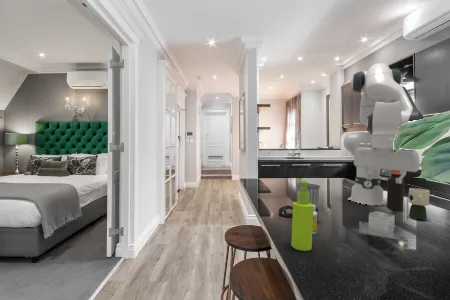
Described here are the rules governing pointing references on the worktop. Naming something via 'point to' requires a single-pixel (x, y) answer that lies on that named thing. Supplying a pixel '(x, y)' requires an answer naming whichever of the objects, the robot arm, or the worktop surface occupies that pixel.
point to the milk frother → (313, 199)
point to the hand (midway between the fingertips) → (383, 181)
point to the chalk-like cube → (381, 222)
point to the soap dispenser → (302, 220)
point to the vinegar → (395, 192)
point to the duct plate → (395, 234)
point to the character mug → (418, 203)
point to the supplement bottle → (314, 221)
